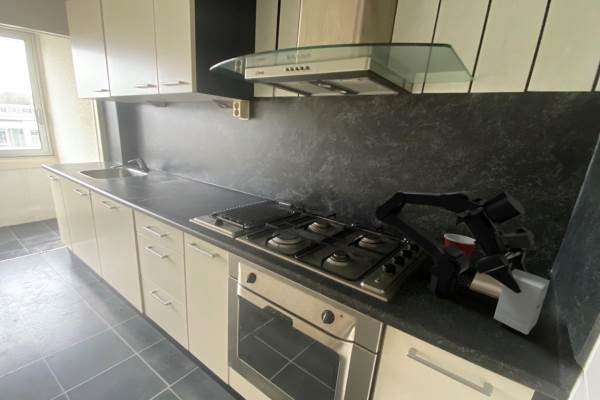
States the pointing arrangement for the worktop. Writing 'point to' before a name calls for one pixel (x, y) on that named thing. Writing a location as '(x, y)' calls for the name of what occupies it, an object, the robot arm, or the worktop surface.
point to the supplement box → (522, 301)
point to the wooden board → (486, 285)
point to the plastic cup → (460, 242)
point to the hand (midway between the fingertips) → (524, 288)
